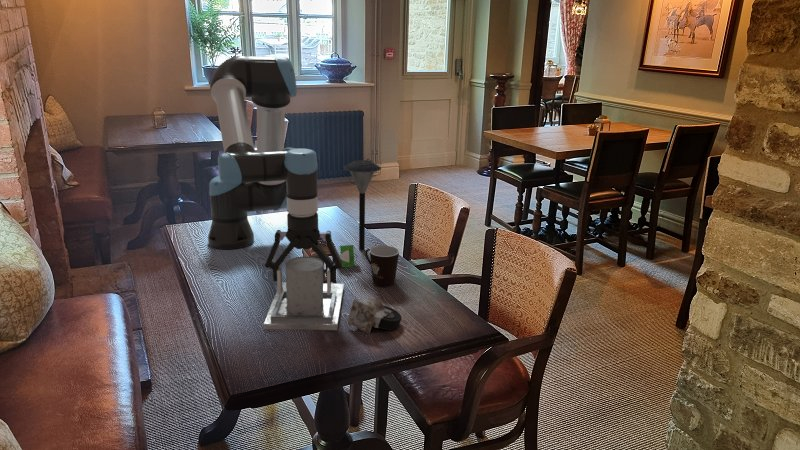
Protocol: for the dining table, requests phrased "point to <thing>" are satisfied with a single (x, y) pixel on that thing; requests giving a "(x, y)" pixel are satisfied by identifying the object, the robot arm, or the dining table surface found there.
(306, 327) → the carrier plate
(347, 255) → the geometric puzzle
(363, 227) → the solar garden light
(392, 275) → the coffee mug
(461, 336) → the dining table surface
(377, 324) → the caster wheel
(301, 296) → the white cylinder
